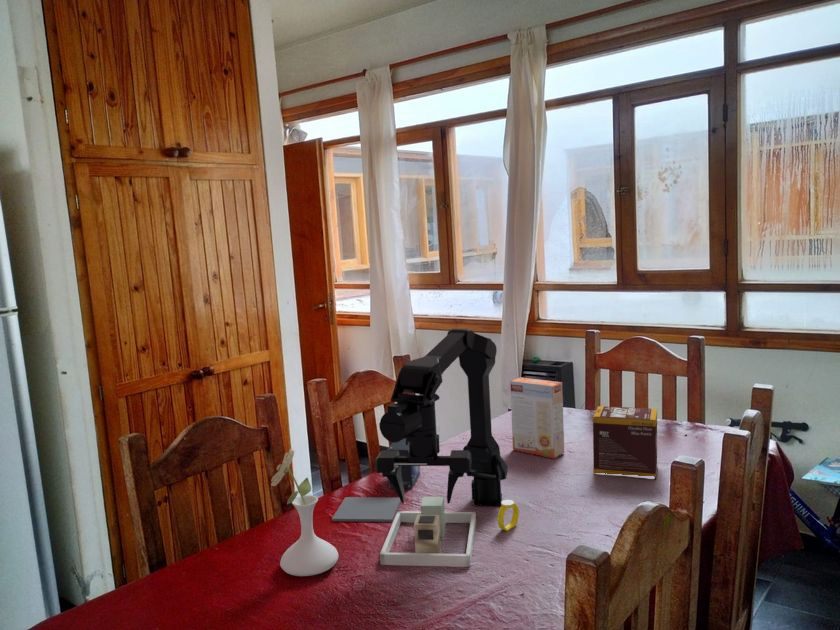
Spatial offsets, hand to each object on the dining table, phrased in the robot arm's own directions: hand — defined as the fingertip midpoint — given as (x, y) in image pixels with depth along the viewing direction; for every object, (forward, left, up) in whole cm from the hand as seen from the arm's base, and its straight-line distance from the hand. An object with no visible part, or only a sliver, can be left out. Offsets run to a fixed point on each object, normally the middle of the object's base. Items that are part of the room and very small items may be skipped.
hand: (425, 502), depth 130 cm
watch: (-16, -11, -11) cm, 22 cm away
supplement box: (-46, -45, -11) cm, 66 cm away
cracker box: (-24, -59, -11) cm, 65 cm away
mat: (+17, -19, -11) cm, 28 cm away
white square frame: (0, -4, -11) cm, 11 cm away
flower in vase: (+23, +8, -11) cm, 27 cm away
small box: (+11, -37, -11) cm, 40 cm away
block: (0, -9, -11) cm, 14 cm away
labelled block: (0, 0, -11) cm, 11 cm away
